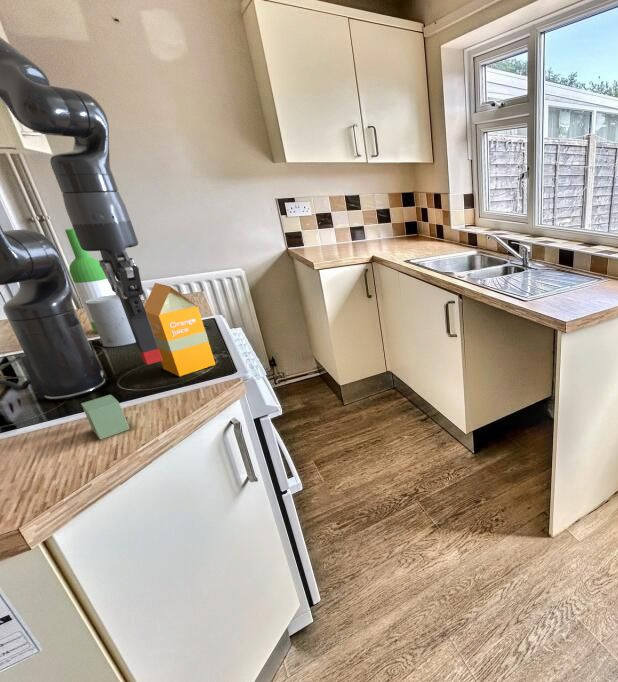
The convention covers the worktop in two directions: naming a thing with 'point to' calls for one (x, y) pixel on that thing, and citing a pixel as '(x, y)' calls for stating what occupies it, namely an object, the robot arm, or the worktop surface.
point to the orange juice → (178, 331)
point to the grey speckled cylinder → (110, 321)
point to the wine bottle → (87, 275)
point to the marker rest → (105, 416)
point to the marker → (143, 336)
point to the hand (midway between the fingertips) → (136, 316)
